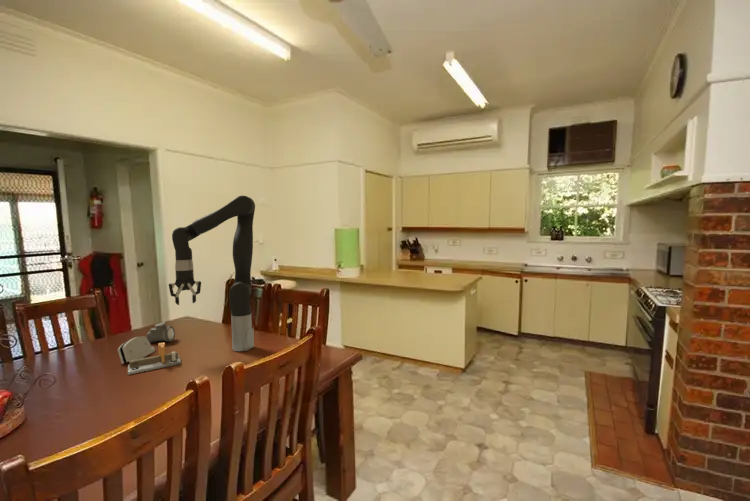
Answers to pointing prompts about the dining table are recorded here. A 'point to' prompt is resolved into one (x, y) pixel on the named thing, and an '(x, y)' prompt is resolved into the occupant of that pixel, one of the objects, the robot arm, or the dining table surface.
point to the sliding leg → (162, 350)
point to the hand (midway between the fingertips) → (186, 303)
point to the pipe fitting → (161, 333)
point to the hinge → (135, 349)
